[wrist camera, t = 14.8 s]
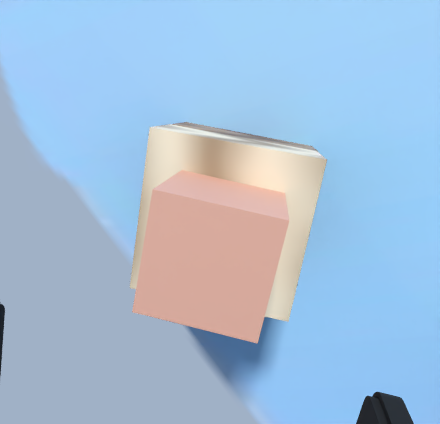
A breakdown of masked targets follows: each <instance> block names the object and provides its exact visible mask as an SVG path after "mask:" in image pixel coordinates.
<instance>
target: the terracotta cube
mask: <svg viewBox="0 0 440 424" xmlns="http://www.w3.org/2000/svg"><path fill="white" fill-rule="evenodd" d="M288 224H289V215H288V208H287V202H286V196H285V193H282V192H278V191H273V190H269V189H264V188H260V187H256V186H251V185H247V184H242V183H238V182H233V181H229V180H225V179H220V178H216V177H211V176H207V175H202V174H198V173H194V172H189V171H185V170H181V171H180V172H178V173H176V174H175V175H173V176H172V177H170V178H169V179H167V180H166V181H164V182H163V183H161V184H160V185H158V186H157V187H155V188H154V189H153V190H152V196H151V202H150V208H149V214H148V220H147V226H146V232H145V238H144V244H143V250H142V256H141V263H140V269H139V275H138V281H137V287H136V293H135V300H134V305H133V311H132V312H134V313H138V314H142V315H147V316H150V317H154V318H158V319H162V320H166V321H170V322H174V323H178V324H182V325H186V326H190V327H194V328H198V329H202V330H206V331H210V332H214V333H218V334H222V335H226V336H230V337H234V338H238V339H241V340H245V341H249V342H253V343H257V344H258V340H259V336H260V332H261V328H262V325H263V321H264V317H265V313H266V309H267V305H268V301H269V298H270V294H271V290H272V286H273V282H274V278H275V274H276V271H277V267H278V263H279V259H280V255H281V251H282V248H283V244H284V240H285V236H286V232H287V228H288Z"/></svg>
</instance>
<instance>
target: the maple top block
mask: <svg viewBox="0 0 440 424" xmlns="http://www.w3.org/2000/svg"><path fill="white" fill-rule="evenodd" d="M326 162H327V159H325V158H324V157H323V156H322V155H321V154H320V153H318V152H317V151H314V150H308V149H303V148H297V147H292V146H286V145H281V144H275V143H270V142H264V141H259V140H254V139H248V138H243V137H237V136H232V135H226V134H221V133H215V132H210V131H204V130H199V129H193V128H188V127H182V126H177V125H171V124H169V125H162V126H155V127H150V130H149V138H148V146H147V154H146V162H145V170H144V178H143V186H142V194H141V202H140V210H139V218H138V226H137V234H136V242H135V250H134V258H133V266H132V275H131V282H130V288H132V289H136V287H137V281H138V275H139V269H140V263H141V256H142V250H143V244H144V238H145V232H146V226H147V220H148V214H149V208H150V202H151V196H152V190H153V189H154V188H155V187H157V186H158V185H160V184H161V183H163V182H164V181H166V180H167V179H169V178H170V177H172V176H173V175H175V174H176V173H178V172H180V171H181V170H185V171H189V172H194V173H198V174H202V175H207V176H211V177H216V178H220V179H225V180H229V181H233V182H238V183H242V184H247V185H251V186H256V187H260V188H264V189H269V190H273V191H278V192H282V193H285V196H286V202H287V208H288V215H289V224H288V228H287V232H286V236H285V240H284V244H283V248H282V251H281V255H280V259H279V263H278V267H277V271H276V274H275V278H274V282H273V286H272V290H271V294H270V298H269V301H268V305H267V309H266V313H265V317H269V318H273V319H278V320H283V321H289V317H290V312H291V308H292V304H293V300H294V296H295V292H296V287H297V283H298V279H299V275H300V271H301V266H302V262H303V258H304V254H305V250H306V245H307V241H308V237H309V233H310V229H311V225H312V220H313V216H314V212H315V208H316V204H317V199H318V195H319V191H320V187H321V183H322V179H323V174H324V170H325V166H326Z"/></svg>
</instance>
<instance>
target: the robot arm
mask: <svg viewBox="0 0 440 424" xmlns="http://www.w3.org/2000/svg"><path fill="white" fill-rule="evenodd" d="M4 315H5V308H4V306H3V305H2V304H0V372H1V359H2V344H3V329H4ZM0 374H1V373H0ZM356 424H414V423H413V421H412V419H411V417H410V414H409V412H408V410H407V408H406V406H405V404H404V401H403V400H402V398H400V397H397V396H393V395H389V394H385V393H381V392H375V393H374V395H373V397H371V396H366V398H365V400H364V402H363V405H362V408H361V411H360V414H359V417H358V420H357V423H356Z"/></svg>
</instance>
